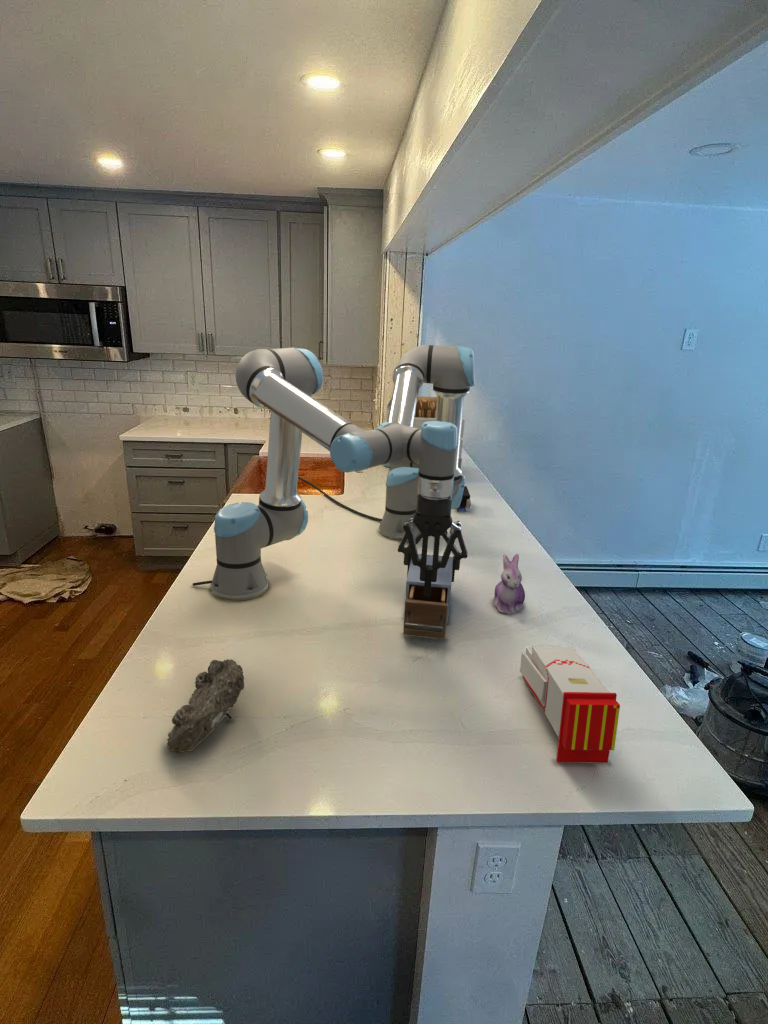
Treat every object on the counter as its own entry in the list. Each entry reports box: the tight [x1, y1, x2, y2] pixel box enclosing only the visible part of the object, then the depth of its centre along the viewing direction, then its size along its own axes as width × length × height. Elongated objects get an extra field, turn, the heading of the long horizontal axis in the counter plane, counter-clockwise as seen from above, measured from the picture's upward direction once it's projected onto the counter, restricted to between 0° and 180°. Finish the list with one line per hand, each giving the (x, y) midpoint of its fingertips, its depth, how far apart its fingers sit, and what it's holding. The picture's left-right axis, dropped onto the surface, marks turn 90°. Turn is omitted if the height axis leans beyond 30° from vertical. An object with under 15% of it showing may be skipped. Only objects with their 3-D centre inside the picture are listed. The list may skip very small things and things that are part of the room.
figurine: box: [493, 553, 526, 615], centre depth 151 cm, size 9×10×15 cm
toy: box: [519, 645, 621, 764], centre depth 112 cm, size 12×13×30 cm
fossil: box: [166, 658, 245, 754], centre depth 106 cm, size 22×10×15 cm
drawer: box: [402, 585, 448, 640], centre depth 139 cm, size 21×10×9 cm, turn 172°
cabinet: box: [404, 553, 453, 625], centre depth 150 cm, size 16×11×11 cm
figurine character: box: [456, 485, 472, 513], centre depth 228 cm, size 7×8×15 cm
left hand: (427, 593), depth 129 cm, fingers closed
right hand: (430, 577), depth 154 cm, fingers closed on cabinet, 11 cm apart
